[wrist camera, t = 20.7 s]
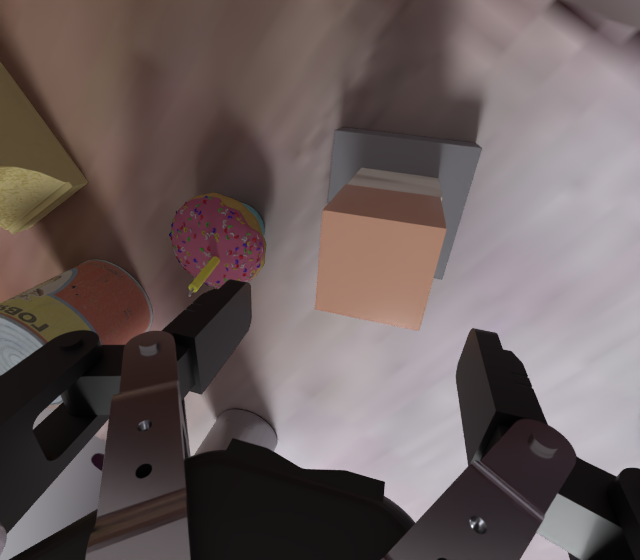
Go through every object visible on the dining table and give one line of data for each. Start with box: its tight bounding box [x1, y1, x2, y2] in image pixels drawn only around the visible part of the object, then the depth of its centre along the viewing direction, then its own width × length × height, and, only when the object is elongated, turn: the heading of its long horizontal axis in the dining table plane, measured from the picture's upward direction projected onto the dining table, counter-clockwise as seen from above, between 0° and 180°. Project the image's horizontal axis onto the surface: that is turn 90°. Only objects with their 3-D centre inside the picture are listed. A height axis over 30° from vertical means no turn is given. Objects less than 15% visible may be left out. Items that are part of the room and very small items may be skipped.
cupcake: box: [169, 193, 266, 297], centre depth 28 cm, size 9×8×12 cm
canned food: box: [0, 259, 153, 405], centre depth 38 cm, size 11×11×12 cm
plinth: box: [327, 127, 482, 280], centre depth 27 cm, size 10×10×3 cm
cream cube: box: [348, 168, 443, 202], centre depth 23 cm, size 6×6×6 cm
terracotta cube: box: [315, 184, 447, 331], centre depth 19 cm, size 6×6×6 cm
